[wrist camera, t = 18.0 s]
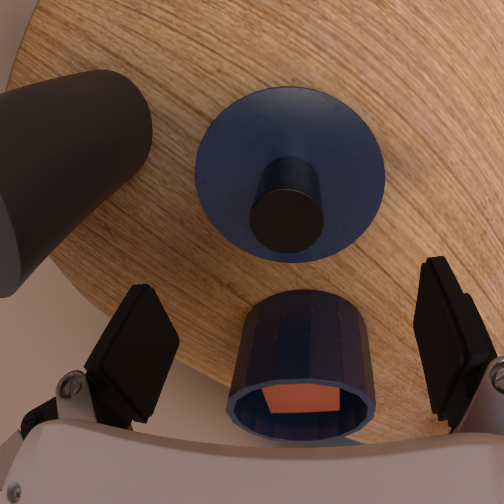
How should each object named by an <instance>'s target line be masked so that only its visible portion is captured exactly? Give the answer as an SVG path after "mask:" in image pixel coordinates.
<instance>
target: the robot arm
mask: <svg viewBox="0 0 504 504" xmlns="http://www.w3.org/2000/svg"><path fill="white" fill-rule="evenodd" d="M413 328H414V333H415V337H416V341H417V345H418V349H419V353H420V357H421V361H422V365H423V370H424V374H425V379H426V384H427V389H428V394H429V399H430V404H431V409H432V413H433V414H436V413H437V415H438V421H443V420H448V425H449V427H451V429H450V431H449V433H448V434H444V435H437V436H430V437H423V438H416V439H409V440H402V441H395V442H386V443H377V444H366V445H356V446H341V447H322V448H268V447H267V448H266V447H247V446H233V445H221V444H211V443H202V442H195V441H188V440H180V439H173V438H168V437H161V436H156V435H151V434H145V433H140V432H136V431H133V428H132V426H131V422H132V419H133V420H134V421H135V422H140V423H145V424H146V423H147V421H148V418H149V417H150V416H152V414H153V412H154V409H155V407H156V404H157V401H158V399H159V396H160V393H161V391H162V388H163V385H164V382H165V380H166V377H167V375H168V372H169V370H170V367H171V364H172V362H173V359H174V357H175V354H176V351H177V349H178V346H179V336H178V334H177V332H176V330H175V329H174V327H173V325H172V323H171V321H170V319H169V317H168V315H167V314H166V312H165V310H164V308H163V306H162V304H161V302H160V300H159V298H158V296H157V294H156V292H155V290H154V289H153V288H151V287H150V286H149V285H148V284H138V285H133V286H132V287H131V288H130V290H129V291H128V293H127V294H126V296H125V298H124V299H123V301H122V302H121V304H120V306H119V307H118V309H117V310H116V312H115V314H114V315H113V317H112V319H111V320H110V322H109V324H108V325H107V327H106V329H105V330H104V332H103V334H102V336H101V337H100V339H99V341H98V342H97V344H96V346H95V347H94V349H93V351H92V353H91V355H90V356H89V358H88V360H87V361H86V363H85V365H84V368H85V369H86V370H87V372H86V374H84V373H83V372H82V371H79V370H76V371H71V372H69V373H68V374H66V375H64V376H63V377H62V378H61V379H60V381H59V383H58V385H57V387H56V397H54V398H52V399H51V400H49V401H47V402H45V403H43V404H42V405H40V406H38V407H36V408H35V409H33V410H31V411H30V412H28V413H27V414H26V415H25V417H24V418H23V420H22V423H21V431H20V430H19V429H18V430H17V431H16V432H15V433H14V434H13V435H12V436H11V437H10V438H9V439H8V440H6V441H5V442H4V443H3V444H2V445H1V446H0V491H1V493H0V504H504V356H501V357H497V354H496V351H495V349H494V346H493V344H492V342H491V339H490V337H489V334H488V332H487V330H486V327H485V325H484V323H483V321H482V318H481V316H480V314H479V312H478V310H477V308H476V306H475V303H474V301H473V299H472V297H471V296H470V294H468V293H463V291H462V289H461V287H460V285H459V283H458V281H457V279H456V277H455V275H454V273H453V271H452V270H451V268H450V266H449V264H448V262H447V260H446V258H445V257H444V256H438V257H430V258H427V260H426V263H422V265H421V272H420V280H419V288H418V295H417V302H416V309H415V315H414V321H413Z"/></svg>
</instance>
